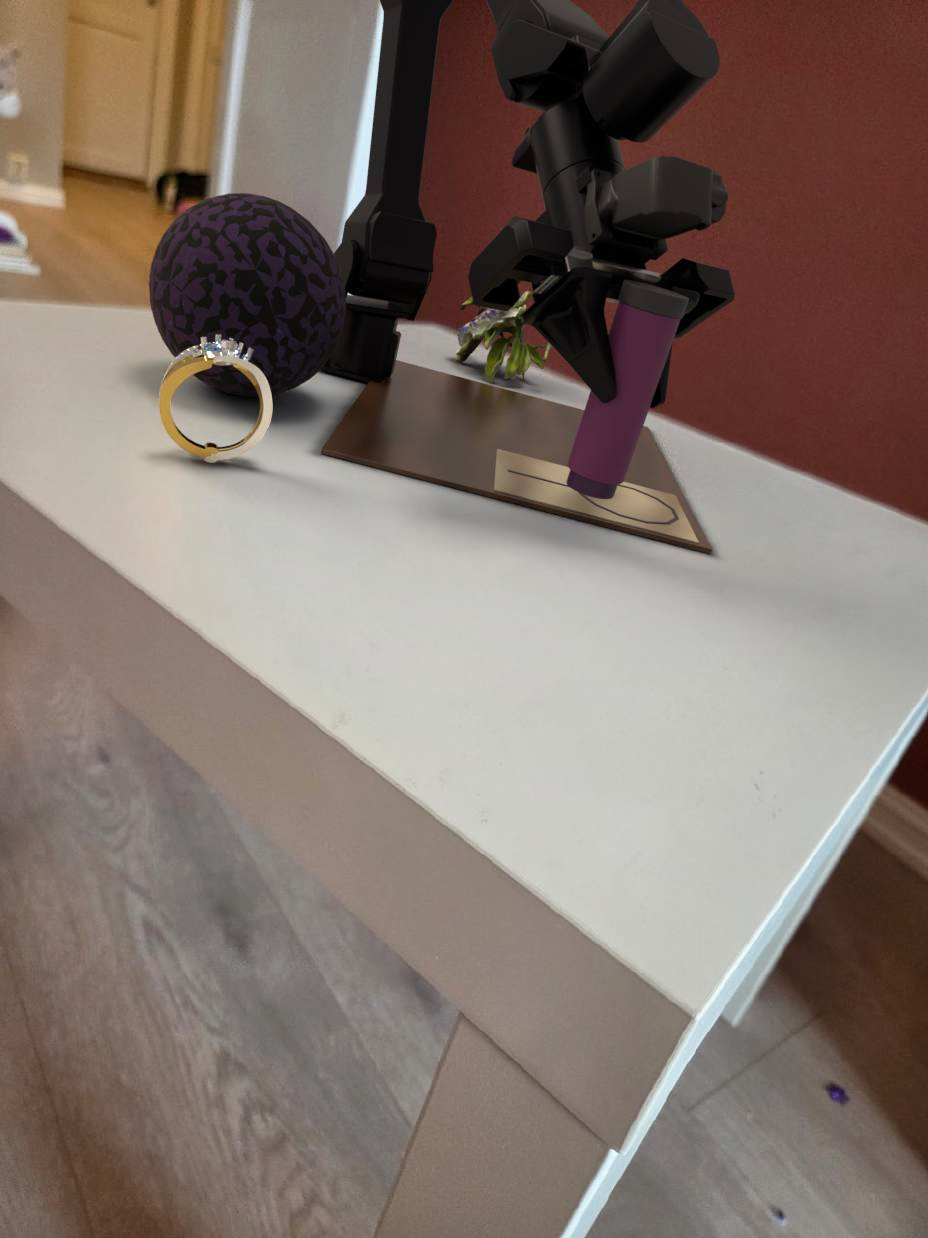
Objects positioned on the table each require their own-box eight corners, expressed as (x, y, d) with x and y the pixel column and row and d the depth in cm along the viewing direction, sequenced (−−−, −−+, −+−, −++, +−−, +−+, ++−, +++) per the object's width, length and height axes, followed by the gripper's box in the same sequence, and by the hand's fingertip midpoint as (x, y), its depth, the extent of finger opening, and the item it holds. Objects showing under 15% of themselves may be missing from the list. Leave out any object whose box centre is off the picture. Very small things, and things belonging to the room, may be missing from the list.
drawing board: (320, 453, 65) (321, 446, 64) (385, 360, 97) (386, 355, 96) (710, 554, 66) (713, 547, 66) (647, 430, 99) (648, 425, 98)
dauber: (562, 491, 59) (628, 283, 53) (559, 472, 62) (620, 276, 56) (622, 507, 59) (695, 302, 53) (616, 487, 63) (683, 293, 57)
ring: (261, 459, 60) (278, 342, 57) (266, 476, 58) (284, 354, 54) (153, 444, 58) (164, 321, 54) (153, 461, 55) (165, 333, 52)
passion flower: (451, 406, 108) (452, 313, 109) (539, 410, 109) (539, 317, 110) (458, 370, 97) (460, 267, 98) (556, 375, 98) (556, 272, 99)
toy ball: (182, 351, 79) (200, 169, 73) (344, 395, 80) (377, 219, 73) (108, 386, 66) (122, 167, 59) (303, 439, 66) (339, 228, 60)
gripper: (549, 55, 48) (609, 317, 45) (769, 140, 58) (829, 358, 55) (444, 188, 57) (489, 412, 54) (651, 241, 67) (698, 432, 64)
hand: (634, 402), depth 57 cm, fingers closed on dauber, 4 cm apart
